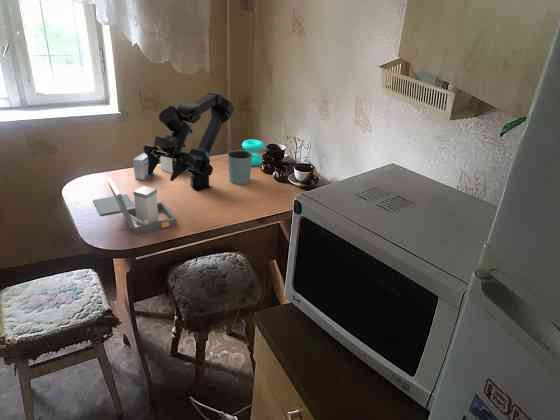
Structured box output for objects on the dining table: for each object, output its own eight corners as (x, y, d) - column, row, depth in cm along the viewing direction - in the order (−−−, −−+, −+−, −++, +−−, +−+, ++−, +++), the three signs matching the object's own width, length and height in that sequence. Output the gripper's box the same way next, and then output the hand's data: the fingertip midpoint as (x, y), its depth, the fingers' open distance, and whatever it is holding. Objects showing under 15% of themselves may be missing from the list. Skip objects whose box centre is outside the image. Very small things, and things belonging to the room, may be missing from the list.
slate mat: (126, 195, 163) (126, 194, 162) (135, 208, 154) (135, 207, 154) (93, 201, 157) (92, 199, 157) (100, 215, 148) (100, 214, 148)
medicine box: (144, 180, 175) (143, 160, 171) (134, 178, 176) (132, 159, 172) (153, 173, 182) (152, 154, 178) (143, 171, 183) (142, 152, 179)
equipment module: (146, 217, 149) (143, 185, 144) (158, 220, 148) (156, 189, 142) (136, 223, 145) (133, 191, 139) (149, 227, 143) (146, 195, 138)
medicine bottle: (173, 174, 183) (171, 147, 177) (160, 169, 186) (159, 143, 180) (184, 169, 188) (183, 143, 183) (172, 165, 191) (171, 139, 186)
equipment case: (163, 207, 156) (160, 168, 149) (177, 225, 145) (175, 184, 138) (111, 217, 147) (105, 176, 140) (122, 238, 136) (116, 195, 129)
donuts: (240, 138, 199) (261, 138, 201) (239, 159, 203) (260, 158, 206) (244, 146, 190) (266, 145, 193) (244, 167, 195) (265, 166, 198)
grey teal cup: (256, 180, 183) (257, 153, 177) (241, 188, 175) (242, 160, 170) (237, 174, 187) (237, 147, 182) (222, 181, 180) (222, 154, 174)
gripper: (143, 121, 146) (124, 162, 142) (190, 131, 140) (171, 174, 136) (159, 137, 156) (142, 175, 153) (203, 147, 150) (186, 187, 147)
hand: (159, 177), depth 147 cm, fingers open, 9 cm apart
